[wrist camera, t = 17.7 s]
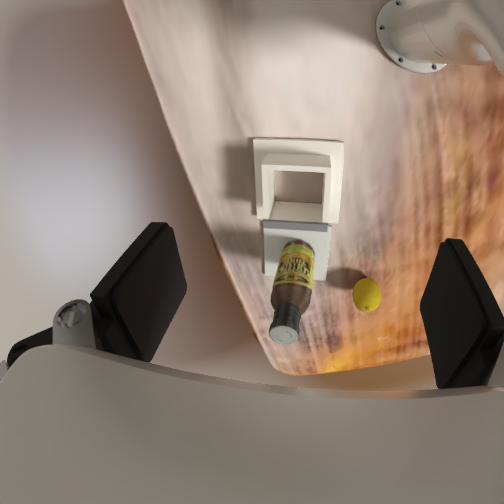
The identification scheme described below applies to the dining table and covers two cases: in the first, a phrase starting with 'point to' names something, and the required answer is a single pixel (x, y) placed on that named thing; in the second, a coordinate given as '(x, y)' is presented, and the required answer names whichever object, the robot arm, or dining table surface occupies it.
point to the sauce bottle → (291, 290)
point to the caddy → (306, 160)
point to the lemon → (366, 295)
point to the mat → (281, 237)
